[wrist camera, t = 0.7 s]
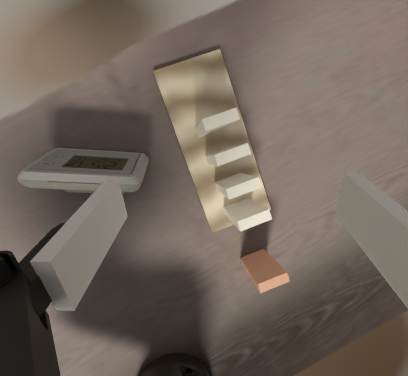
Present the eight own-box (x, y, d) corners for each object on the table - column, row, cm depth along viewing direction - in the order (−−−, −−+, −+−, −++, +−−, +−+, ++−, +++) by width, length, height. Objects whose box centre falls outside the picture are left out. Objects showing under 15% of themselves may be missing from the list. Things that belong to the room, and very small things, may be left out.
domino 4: (250, 205, 44) (272, 219, 34) (226, 215, 44) (240, 231, 34) (248, 197, 44) (269, 209, 34) (223, 207, 44) (237, 221, 34)
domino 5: (266, 255, 47) (289, 281, 37) (242, 264, 47) (260, 293, 37) (263, 248, 47) (287, 272, 37) (240, 257, 46) (257, 284, 37)
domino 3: (242, 180, 44) (262, 187, 34) (217, 190, 43) (229, 199, 33) (239, 172, 43) (258, 176, 33) (214, 182, 43) (225, 189, 33)
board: (269, 208, 46) (271, 210, 45) (211, 231, 45) (212, 232, 44) (218, 51, 41) (220, 48, 40) (153, 73, 40) (153, 70, 39)
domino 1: (225, 128, 42) (240, 118, 32) (198, 137, 42) (205, 131, 32) (222, 119, 42) (236, 107, 32) (195, 128, 41) (201, 119, 32)
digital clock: (154, 156, 42) (147, 155, 32) (142, 204, 43) (131, 219, 33) (59, 131, 40) (17, 121, 29) (48, 182, 41) (4, 190, 30)
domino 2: (233, 155, 43) (251, 153, 33) (208, 164, 42) (217, 166, 33) (231, 146, 43) (247, 142, 33) (205, 156, 42) (214, 155, 32)
